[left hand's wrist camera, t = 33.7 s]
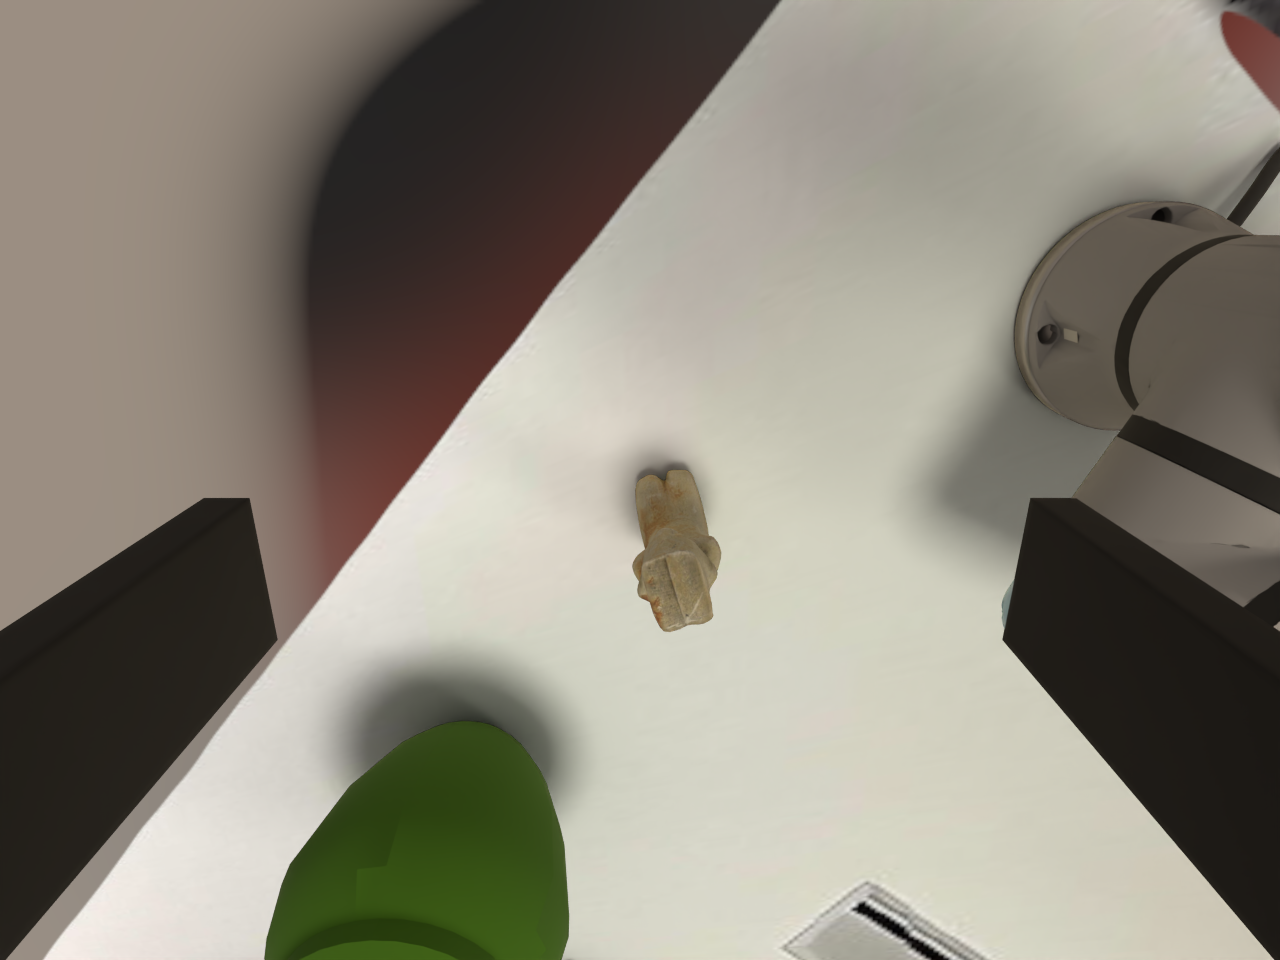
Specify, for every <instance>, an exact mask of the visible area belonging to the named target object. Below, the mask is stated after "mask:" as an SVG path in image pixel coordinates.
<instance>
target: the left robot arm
mask: <svg viewBox="0 0 1280 960" xmlns="http://www.w3.org/2000/svg"><path fill="white" fill-rule="evenodd" d="M1279 172H1280V148H1279V149H1278V150H1277V151H1276V152H1275V153H1274V155H1273V156H1272V157H1271V158H1270V160H1269V161H1268V162H1267V163H1266V165H1265V166H1264V168H1263V169H1262V171H1261V172H1260V173H1259V175H1258V176H1257V178H1256V179H1255V181H1254V182H1253V184H1252V185H1251V187H1250V188H1249V190H1248V191H1247V192H1246V194H1245V195H1244V197H1243V198H1242V199H1241V201H1240V202H1239V203H1238V205H1237V206H1236V207H1235V209H1234V210H1233V211H1232V213H1231V214H1230V215H1229V217H1228V218H1227V219H1225V218H1224V217H1222V216H1220V215H1218V214H1217V213H1215V212H1213V211H1211V210H1209V209H1206V208H1204V207H1201V206H1198V205H1194V204H1190V203H1183V202H1141V203H1134V204H1128V205H1124V206H1120V207H1116V208H1113V209H1111V210H1108V211H1105V212H1103V213H1101V214H1099V215H1096V216H1094V217H1092V218H1091V219H1089V220H1087V221H1086V222H1084V223H1082V224H1081V225H1079V226H1078V227H1076V228H1075V229H1073V230H1072V231H1071V232H1070V233H1068V234H1067V235H1066V236H1065V237H1064V238H1062V239H1061V240H1060V241H1059V242H1058V243H1057V244H1056V245H1055V246H1054V247H1053V248H1052V249H1051V251H1050V252H1049V253H1048V254H1047V255H1046V256H1045V258H1044V259H1043V260H1042V262H1041V263H1040V264H1039V266H1038V267H1037V269H1036V270H1035V272H1034V274H1033V275H1032V277H1031V279H1030V281H1029V283H1028V285H1027V287H1026V289H1025V291H1024V294H1023V296H1022V299H1021V302H1020V305H1019V309H1018V313H1017V318H1016V325H1015V351H1016V357H1017V362H1018V365H1019V368H1020V371H1021V373H1022V376H1023V378H1024V380H1025V382H1026V383H1027V385H1028V387H1029V388H1030V390H1031V391H1032V392H1033V394H1034V395H1035V396H1036V397H1037V398H1038V399H1039V400H1040V401H1041V402H1042V403H1043V404H1044V405H1046V406H1047V407H1048V408H1050V409H1051V410H1053V411H1054V412H1056V413H1058V414H1060V415H1062V416H1064V417H1066V418H1068V419H1070V420H1072V421H1074V422H1077V423H1079V424H1082V425H1084V426H1087V427H1092V428H1096V429H1102V430H1121V431H1120V432H1119V434H1118V435H1117V436H1116V437H1115V438H1114V440H1113V441H1112V442H1111V444H1110V445H1109V447H1108V448H1107V449H1106V451H1105V452H1104V454H1103V455H1102V456H1101V458H1100V459H1099V461H1098V462H1097V463H1096V465H1095V466H1094V467H1093V469H1092V470H1091V472H1090V473H1089V474H1088V476H1087V477H1086V479H1085V480H1084V481H1083V483H1082V484H1081V486H1080V487H1079V488H1078V490H1077V491H1076V493H1075V494H1074V495H1073V497H1072V498H1030V503H1029V508H1028V513H1027V519H1026V524H1025V529H1024V534H1023V539H1022V544H1021V549H1020V554H1019V559H1018V564H1017V569H1016V574H1015V579H1014V581H1013V582H1012V584H1011V585H1010V587H1009V588H1008V590H1007V592H1006V593H1005V595H1004V598H1003V601H1002V622H1003V626H1004V635H1003V641H1004V642H1005V643H1006V645H1007V646H1008V647H1009V648H1010V649H1011V650H1012V652H1013V653H1014V654H1015V655H1016V656H1017V658H1018V659H1019V660H1020V661H1021V662H1022V663H1023V665H1024V666H1025V667H1026V668H1027V669H1028V670H1029V672H1030V673H1031V674H1032V675H1033V676H1034V678H1035V679H1036V680H1037V681H1038V682H1039V683H1040V685H1041V686H1042V687H1043V688H1044V689H1045V690H1046V692H1047V693H1048V694H1049V695H1050V696H1051V698H1052V699H1053V700H1054V701H1055V702H1056V703H1057V705H1058V706H1059V707H1060V708H1061V709H1062V710H1063V712H1064V713H1065V714H1066V715H1067V716H1068V718H1069V719H1070V720H1071V721H1072V722H1073V723H1074V725H1075V726H1076V727H1077V728H1078V729H1079V730H1080V732H1081V733H1082V734H1083V735H1084V736H1085V738H1086V739H1087V740H1088V741H1089V742H1090V743H1091V745H1092V746H1093V747H1094V748H1095V749H1096V750H1097V752H1098V753H1099V754H1100V755H1101V756H1102V758H1103V759H1104V760H1105V761H1106V762H1107V763H1108V765H1109V766H1110V767H1111V768H1112V769H1113V770H1114V772H1115V773H1116V774H1117V775H1118V776H1119V778H1120V779H1121V780H1122V781H1123V782H1124V783H1125V785H1126V786H1127V787H1128V788H1129V789H1130V790H1131V792H1132V793H1133V794H1134V795H1135V796H1136V798H1137V799H1138V800H1139V801H1140V802H1141V803H1142V805H1143V806H1144V807H1145V808H1146V809H1147V810H1148V812H1149V813H1150V814H1151V815H1152V816H1153V818H1154V819H1155V820H1156V821H1157V822H1158V823H1159V825H1160V826H1161V827H1162V828H1163V829H1164V830H1165V832H1166V833H1167V834H1168V835H1169V836H1170V838H1171V839H1172V840H1173V841H1174V842H1175V843H1176V845H1177V846H1178V847H1179V848H1180V849H1181V850H1182V852H1183V853H1184V854H1185V855H1186V856H1187V858H1188V859H1189V860H1190V861H1191V862H1192V863H1193V865H1194V866H1195V867H1196V868H1197V869H1198V870H1199V872H1200V873H1201V874H1202V875H1203V876H1204V878H1205V879H1206V880H1207V881H1208V882H1209V883H1210V885H1211V886H1212V887H1213V888H1214V889H1215V890H1216V892H1217V893H1218V894H1219V895H1220V896H1221V898H1222V899H1223V900H1224V901H1225V902H1226V903H1227V905H1228V906H1229V907H1230V908H1231V909H1232V910H1233V912H1234V913H1235V914H1236V915H1237V916H1238V918H1239V919H1240V920H1241V921H1242V922H1243V923H1244V925H1245V926H1246V927H1247V928H1248V929H1249V930H1250V932H1251V933H1252V934H1253V935H1254V936H1255V938H1256V939H1257V940H1258V941H1259V942H1260V943H1261V945H1262V946H1263V947H1264V948H1265V949H1266V950H1267V952H1268V953H1269V954H1270V955H1271V956H1272V958H1273V959H1274V960H1280V236H1278V235H1253V234H1252V233H1250V232H1248V231H1246V230H1245V229H1243V228H1241V227H1240V226H1241V225H1242V224H1243V222H1244V221H1245V220H1246V218H1247V217H1248V216H1249V214H1250V213H1251V212H1252V210H1253V209H1254V208H1255V206H1256V205H1257V204H1258V202H1259V201H1260V199H1261V198H1262V197H1263V195H1264V194H1265V193H1266V191H1267V190H1268V188H1269V187H1270V185H1271V184H1272V182H1273V181H1274V179H1275V178H1276V176H1277V175H1278V173H1279ZM276 641H277V635H276V629H275V624H274V619H273V614H272V609H271V604H270V599H269V594H268V589H267V584H266V579H265V574H264V569H263V564H262V559H261V554H260V549H259V544H258V539H257V534H256V529H255V524H254V519H253V513H252V509H251V503H250V499H249V498H203V499H202V500H200V501H199V502H197V503H196V504H194V505H193V506H191V507H190V508H188V509H187V510H185V511H183V512H182V513H180V514H179V515H177V516H176V517H174V518H173V519H171V520H170V521H168V522H167V523H165V524H163V525H162V526H160V527H159V528H157V529H156V530H154V531H153V532H151V533H150V534H148V535H147V536H145V537H144V538H142V539H141V540H139V541H137V542H136V543H134V544H133V545H131V546H130V547H128V548H127V549H125V550H124V551H122V552H121V553H119V554H118V555H116V556H115V557H113V558H111V559H110V560H108V561H107V562H105V563H104V564H102V565H101V566H99V567H98V568H96V569H95V570H93V571H92V572H90V573H88V574H87V575H86V576H84V577H82V578H81V579H79V580H78V581H76V582H75V583H73V584H72V585H70V586H69V587H67V588H65V589H64V590H62V591H61V592H59V593H58V594H56V595H55V596H53V597H52V598H50V599H49V600H47V601H46V602H44V603H43V604H41V605H39V606H38V607H36V608H35V609H33V610H32V611H30V612H29V613H27V614H26V615H24V616H23V617H21V618H20V619H18V620H16V621H15V622H13V623H12V624H10V625H9V626H7V627H6V628H4V629H3V630H1V631H0V960H6V959H7V957H8V956H9V955H10V954H11V953H12V952H13V950H14V949H15V948H16V947H17V946H18V945H19V943H20V942H21V941H22V940H23V939H24V938H25V936H26V935H27V934H28V933H29V932H30V930H31V929H32V928H33V927H34V926H35V925H36V923H37V922H38V921H39V920H40V919H41V918H42V916H43V915H44V914H45V913H46V912H47V910H48V909H49V908H50V907H51V906H52V905H53V903H54V902H55V901H56V900H57V899H58V897H59V896H60V895H61V894H62V893H63V892H64V890H65V889H66V888H67V887H68V886H69V885H70V883H71V882H72V881H73V880H74V879H75V878H76V876H77V875H78V874H79V873H80V872H81V870H82V869H83V868H84V867H85V866H86V865H87V863H88V862H89V861H90V860H91V859H92V858H93V856H94V855H95V854H96V853H97V852H98V850H99V849H100V848H101V847H102V846H103V845H104V843H105V842H106V841H107V840H108V839H109V838H110V836H111V835H112V834H113V833H114V832H115V830H116V829H117V828H118V827H119V826H120V824H121V823H122V822H123V821H124V820H125V819H126V818H127V816H128V815H129V814H130V813H131V812H132V810H133V809H134V808H135V807H136V806H137V805H138V803H139V802H140V801H141V800H142V799H143V798H144V796H145V795H146V794H147V793H148V792H149V790H150V789H151V788H152V787H153V786H154V785H155V783H156V782H157V781H158V780H159V779H160V778H161V776H162V775H163V774H164V773H165V772H166V770H167V769H168V768H169V767H170V766H171V765H172V763H173V762H174V761H175V760H176V759H177V758H178V756H179V755H180V754H181V753H182V752H183V750H184V749H185V748H186V747H187V746H188V745H189V743H190V742H191V741H192V740H193V739H194V738H195V736H196V735H197V734H198V733H199V732H200V730H201V729H202V728H203V727H204V726H205V725H206V723H207V722H208V721H209V720H210V719H211V718H212V716H213V715H214V714H215V713H216V712H217V710H218V709H219V708H220V707H221V706H222V705H223V703H224V702H225V701H226V700H227V699H228V698H229V696H230V695H231V694H232V693H233V692H234V690H235V689H236V688H237V687H238V686H239V685H240V683H241V682H242V681H243V680H244V679H245V678H246V676H247V675H248V674H249V673H250V672H251V670H252V669H253V668H254V667H255V666H256V665H257V663H258V662H259V661H260V660H261V659H262V657H263V656H264V655H265V654H266V653H267V652H268V650H269V649H270V648H271V647H272V646H273V645H274V643H275V642H276Z"/></svg>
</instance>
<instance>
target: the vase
mask: <svg viewBox="0 0 1280 960" xmlns="http://www.w3.org/2000/svg"><path fill="white" fill-rule="evenodd" d="M568 937H569V907H568V892H567V877H566V863H565V848H564V842H563V837H562V833H561V829H560V825H559V822H558V819H557V816H556V812H555V809H554V806H553V803H552V800H551V796H550V793H549V790H548V787H547V784H546V781H545V779H544V777H543V775H542V773H541V771H540V770H539V768H538V767H537V765H536V764H535V763H534V761H533V760H532V758H531V757H530V755H529V754H528V753H527V751H526V750H525V749H524V748H523V746H522V745H521V744H520V743H519V742H518V741H517V740H516V739H514V738H513V737H512V736H511V735H509V734H508V733H506V732H504V731H502V730H501V729H499V728H497V727H495V726H492V725H489V724H486V723H482V722H475V721H458V722H449V723H446V724H442V725H439V726H436V727H434V728H431V729H429V730H427V731H424V732H422V733H420V734H418V735H415V736H414V737H412V738H410V739H408V740H406V741H404V742H402V743H401V744H400V745H398V746H397V747H396V748H395V749H393V750H392V751H391V752H390V753H389V754H387V755H386V756H385V757H384V758H383V759H381V760H380V761H379V762H378V763H377V764H376V765H374V766H373V767H372V768H371V769H370V770H368V771H367V772H366V773H365V774H364V775H362V776H361V777H360V778H359V779H358V780H356V781H355V782H354V783H353V784H352V785H351V786H350V787H349V788H348V789H347V790H346V792H345V793H344V794H343V796H342V797H341V798H340V799H339V801H338V802H337V803H336V805H335V806H334V807H333V809H332V810H331V811H330V813H329V814H328V815H327V816H326V818H325V819H324V820H323V822H322V823H321V824H320V826H319V827H318V828H317V830H316V831H315V832H314V834H313V835H312V836H311V837H310V839H309V840H308V841H307V843H306V844H305V845H304V847H303V848H302V849H301V851H300V852H299V853H298V854H297V856H296V857H295V858H294V860H293V861H292V862H291V864H290V866H289V868H288V870H287V873H286V875H285V878H284V880H283V882H282V885H281V889H280V892H279V896H278V900H277V903H276V907H275V910H274V914H273V918H272V921H271V925H270V928H269V932H268V936H267V940H266V949H265V958H264V959H265V960H561V959H562V956H563V953H564V950H565V947H566V943H567V940H568Z"/></svg>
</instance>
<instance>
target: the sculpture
mask: <svg viewBox="0 0 1280 960" xmlns="http://www.w3.org/2000/svg"><path fill="white" fill-rule="evenodd" d="M635 492H636V505H637V512H638V520H639V525H640V530H641V534H642V539H643V543H644V547H645V550H644V551H642V552H641V553H640V554H639V555H638V556H637V557H636V558H635V560H634V562H633V566H632V568H633V571H634V574H635V576H636V577H637V579H638V581H639V584H638V589H637V591H638V595H639V597H641V598H642V599H644V600H647V601H649V602H650V604H651V608H652V611H653V614H654V616H655V618H656V620H657V622H658V624H659V626H660V628H661V629H662V630H663V631H665V632H671V631H675V630H678V629H681V628H683V627H685V626H687V625H692V624H703V623H706V622H708V621H709V620H711V619H712V617H713V613H712V603H711V598H710V594H709V591H710V588H711V586H712V584H713V583H714V581H715V580H716V578H717V570H718V567H719V563H720V559H721V550H720V547H719V545H718V542H717V541H716V540H715V538H714V537H712V536H709V535H708V527H707V523H706V518H705V514H704V510H703V506H702V502H701V499H700V495H699V492H698V489H697V486H696V484H695V481H694V478H693V475H692V474H691V473H690V472H689V471H687V470H671V471H668V473H667V475H666V479H665V480H661V479H660V478H658V477H657V476H655V475H647V476H645V477H644V478H642V479H640V480H639V481H638V483H637V485H636V490H635Z"/></svg>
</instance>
